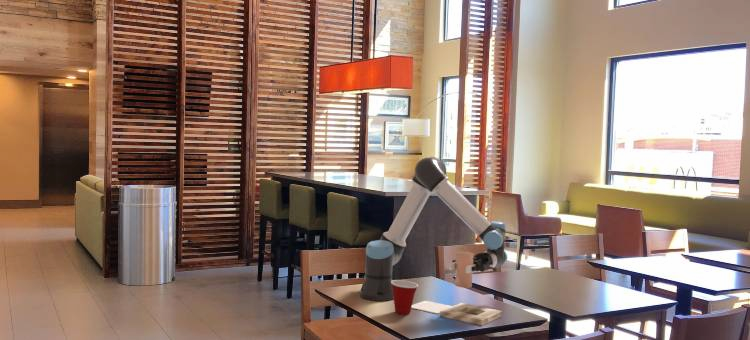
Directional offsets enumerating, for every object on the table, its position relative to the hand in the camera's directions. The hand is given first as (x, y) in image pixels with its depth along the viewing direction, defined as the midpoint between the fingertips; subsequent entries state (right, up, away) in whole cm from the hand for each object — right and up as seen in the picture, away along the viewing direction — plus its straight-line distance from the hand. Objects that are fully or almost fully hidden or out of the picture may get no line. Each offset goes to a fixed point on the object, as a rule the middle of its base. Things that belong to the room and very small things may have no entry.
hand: (458, 268), depth 249 cm
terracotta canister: (+3, -7, +4) cm, 9 cm away
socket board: (+5, -19, +2) cm, 20 cm away
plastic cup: (-21, -18, +3) cm, 28 cm away
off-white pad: (-9, -18, +12) cm, 24 cm away
